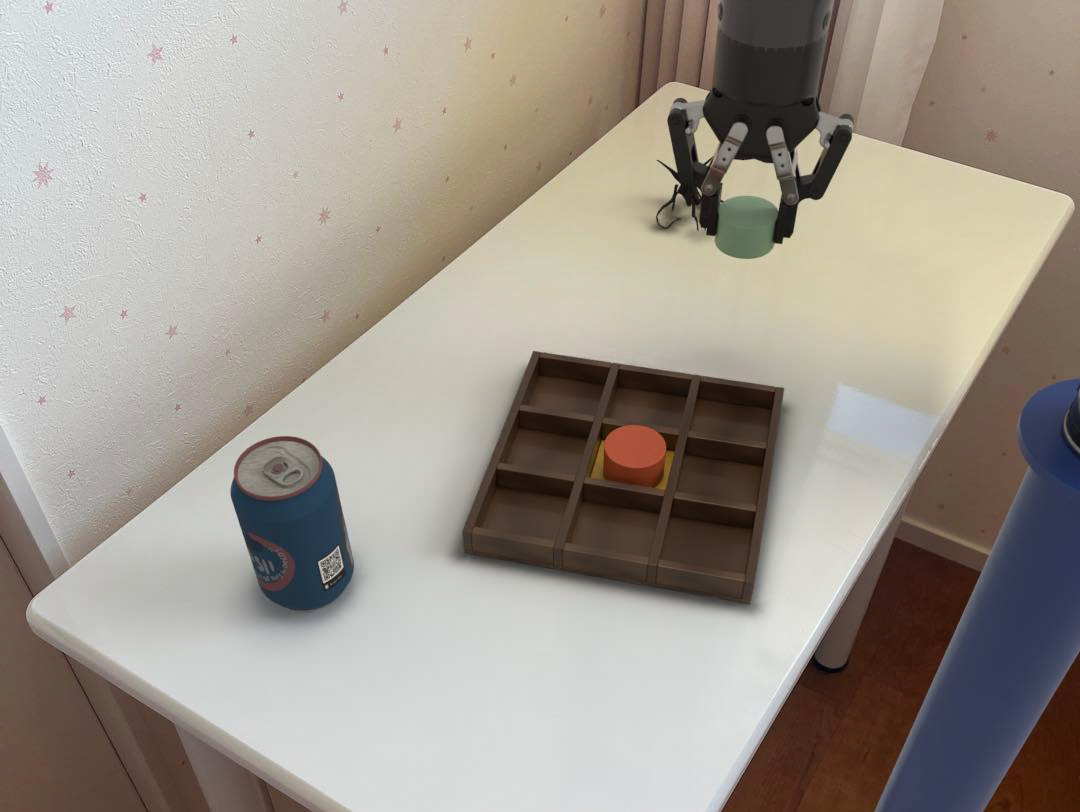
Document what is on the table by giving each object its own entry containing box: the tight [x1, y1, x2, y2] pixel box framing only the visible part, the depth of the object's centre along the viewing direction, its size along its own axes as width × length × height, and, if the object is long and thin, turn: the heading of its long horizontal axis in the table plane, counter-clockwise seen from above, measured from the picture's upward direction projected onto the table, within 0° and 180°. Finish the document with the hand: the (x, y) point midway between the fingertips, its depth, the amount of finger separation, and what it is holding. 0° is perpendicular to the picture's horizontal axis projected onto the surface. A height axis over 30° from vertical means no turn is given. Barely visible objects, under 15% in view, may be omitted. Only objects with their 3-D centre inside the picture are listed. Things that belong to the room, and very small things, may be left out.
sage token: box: [714, 195, 779, 260], centre depth 88 cm, size 5×5×3 cm
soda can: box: [229, 435, 355, 612], centre depth 77 cm, size 7×7×12 cm
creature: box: [655, 155, 725, 232], centre depth 110 cm, size 8×5×8 cm
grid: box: [461, 350, 785, 605], centre depth 87 cm, size 21×21×2 cm
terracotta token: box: [603, 425, 666, 488], centre depth 86 cm, size 5×5×3 cm
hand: (745, 233), depth 89 cm, fingers closed on sage token, 4 cm apart
